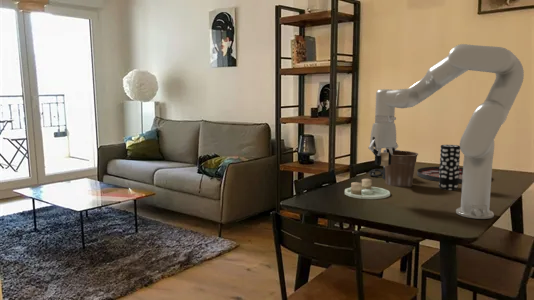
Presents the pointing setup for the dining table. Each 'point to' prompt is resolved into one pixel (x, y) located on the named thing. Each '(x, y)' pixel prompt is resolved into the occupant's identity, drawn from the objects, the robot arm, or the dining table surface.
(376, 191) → the pale green faceted plate
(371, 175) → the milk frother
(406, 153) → the plant pot
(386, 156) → the brown egg
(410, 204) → the dining table surface
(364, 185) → the bead
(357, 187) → the tan egg
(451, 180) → the white-spotted black cylinder
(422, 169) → the palette wheel
